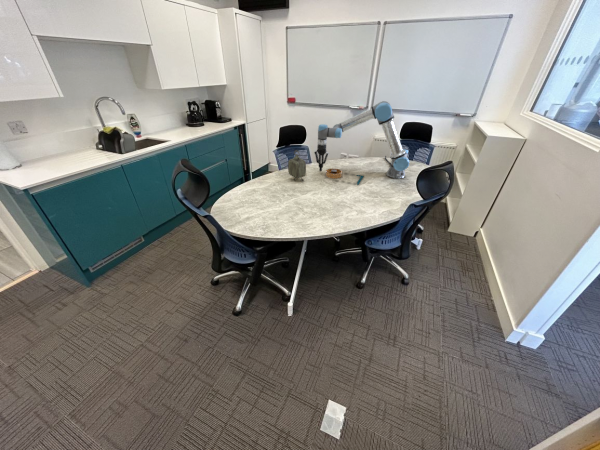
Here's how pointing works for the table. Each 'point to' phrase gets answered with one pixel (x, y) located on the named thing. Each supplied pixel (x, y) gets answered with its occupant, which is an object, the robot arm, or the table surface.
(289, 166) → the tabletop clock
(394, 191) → the table surface
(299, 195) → the table surface
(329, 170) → the bowl
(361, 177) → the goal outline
